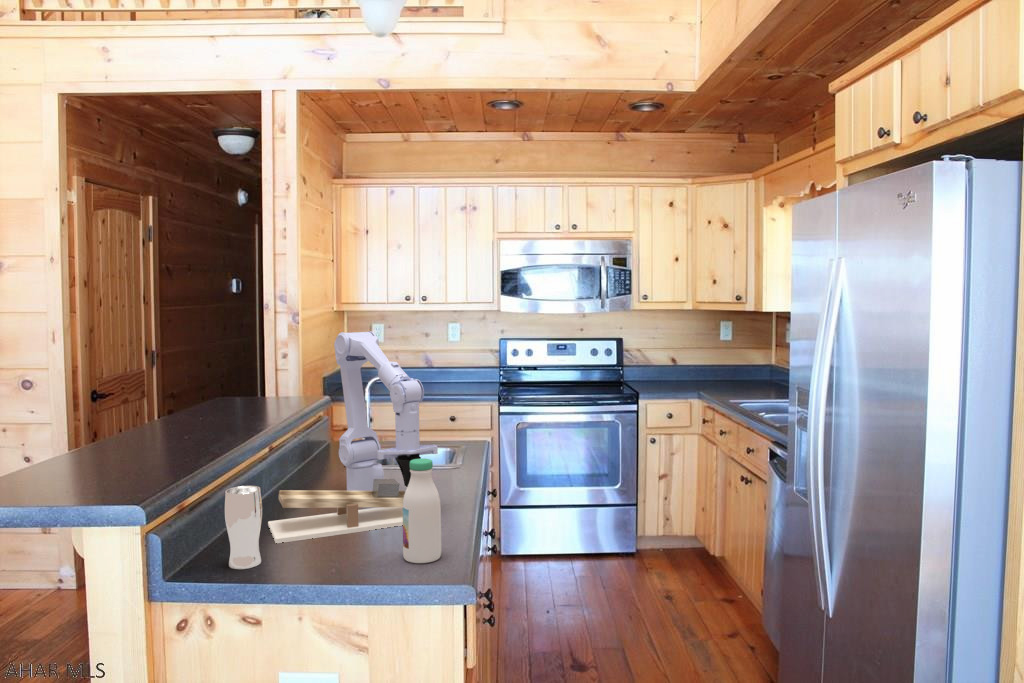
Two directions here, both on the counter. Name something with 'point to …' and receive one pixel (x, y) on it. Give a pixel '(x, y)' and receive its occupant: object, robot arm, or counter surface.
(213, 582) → the counter surface
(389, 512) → the beam stand
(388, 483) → the block
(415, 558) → the milk bottle
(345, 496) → the balance beam
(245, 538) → the beer glass
